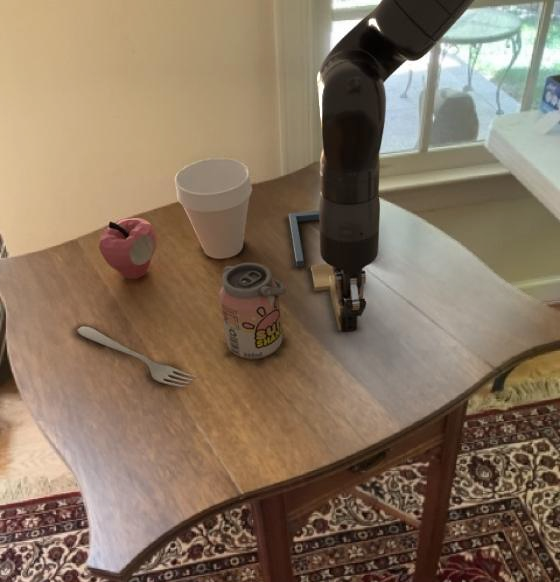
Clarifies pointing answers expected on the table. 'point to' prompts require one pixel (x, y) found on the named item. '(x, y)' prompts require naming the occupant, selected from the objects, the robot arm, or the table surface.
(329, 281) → the t-shaped block
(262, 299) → the beverage can
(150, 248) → the apple
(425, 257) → the table surface
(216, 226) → the cup
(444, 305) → the table surface
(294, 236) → the u-shaped stop
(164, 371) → the fork
